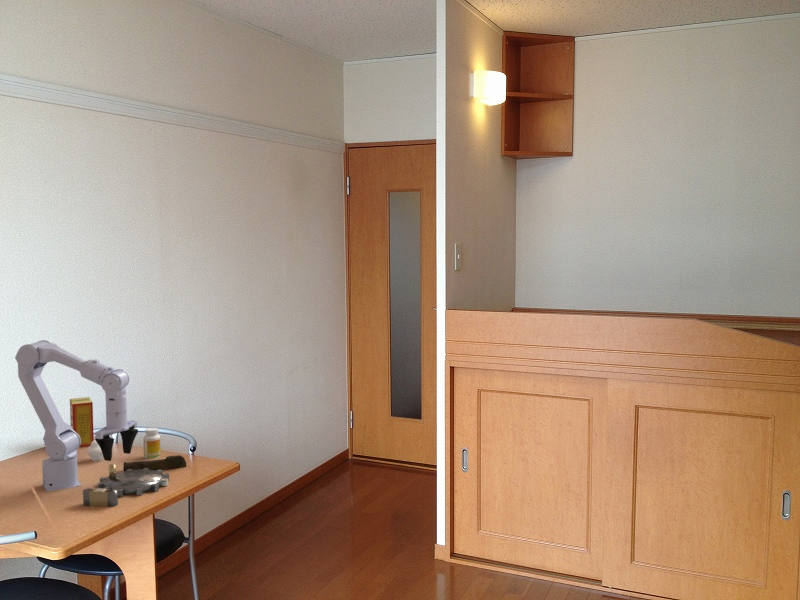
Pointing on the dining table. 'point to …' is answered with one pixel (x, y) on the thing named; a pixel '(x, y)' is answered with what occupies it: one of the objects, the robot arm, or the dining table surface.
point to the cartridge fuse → (100, 497)
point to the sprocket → (133, 481)
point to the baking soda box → (82, 419)
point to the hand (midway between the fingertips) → (117, 456)
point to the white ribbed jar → (95, 451)
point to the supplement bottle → (152, 443)
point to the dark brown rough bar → (157, 464)
